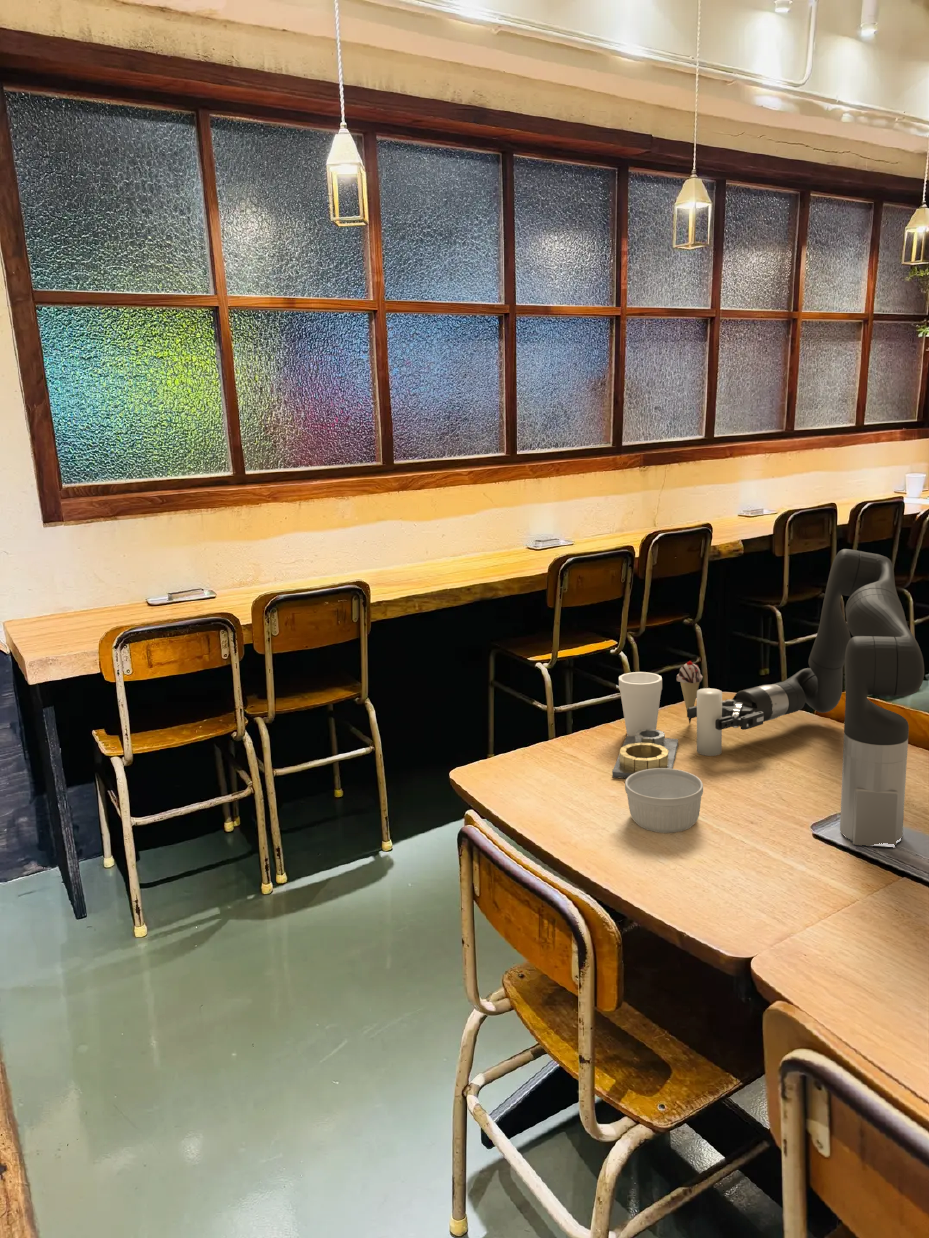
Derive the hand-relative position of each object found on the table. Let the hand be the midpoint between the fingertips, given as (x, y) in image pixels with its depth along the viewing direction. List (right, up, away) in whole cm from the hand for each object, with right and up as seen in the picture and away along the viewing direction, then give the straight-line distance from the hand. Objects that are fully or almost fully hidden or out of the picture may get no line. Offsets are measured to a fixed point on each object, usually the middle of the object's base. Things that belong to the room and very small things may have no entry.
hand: (702, 719), depth 174 cm
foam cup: (-10, -5, +15) cm, 18 cm away
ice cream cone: (+2, -4, +19) cm, 19 cm away
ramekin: (-14, -15, -26) cm, 33 cm away
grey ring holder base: (-11, -8, 0) cm, 14 cm away
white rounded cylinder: (+2, -7, +2) cm, 8 cm away
